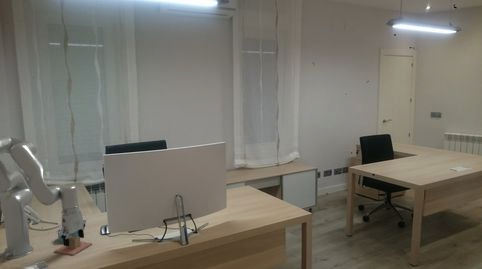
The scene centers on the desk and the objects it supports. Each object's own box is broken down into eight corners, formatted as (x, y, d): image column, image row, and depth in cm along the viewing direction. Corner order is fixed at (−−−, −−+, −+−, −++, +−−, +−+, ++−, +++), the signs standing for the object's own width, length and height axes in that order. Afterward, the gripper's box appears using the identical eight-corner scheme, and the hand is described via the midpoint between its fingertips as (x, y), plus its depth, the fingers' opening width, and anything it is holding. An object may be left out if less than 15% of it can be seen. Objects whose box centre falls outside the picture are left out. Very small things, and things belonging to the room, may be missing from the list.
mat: (73, 256, 168) (73, 255, 168) (53, 253, 172) (53, 252, 172) (92, 245, 180) (92, 244, 180) (73, 242, 184) (73, 241, 184)
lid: (73, 255, 168) (72, 244, 167) (54, 252, 172) (53, 241, 171) (92, 244, 180) (91, 234, 179) (73, 241, 184) (72, 231, 183)
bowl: (69, 244, 182) (68, 235, 181) (54, 241, 185) (53, 233, 184) (83, 236, 191) (83, 228, 191) (69, 234, 195) (68, 226, 194)
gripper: (62, 216, 164) (66, 250, 166) (89, 204, 180) (92, 235, 182) (50, 215, 166) (54, 248, 169) (78, 203, 183) (81, 234, 185)
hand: (74, 241), depth 175 cm, fingers open, 9 cm apart
